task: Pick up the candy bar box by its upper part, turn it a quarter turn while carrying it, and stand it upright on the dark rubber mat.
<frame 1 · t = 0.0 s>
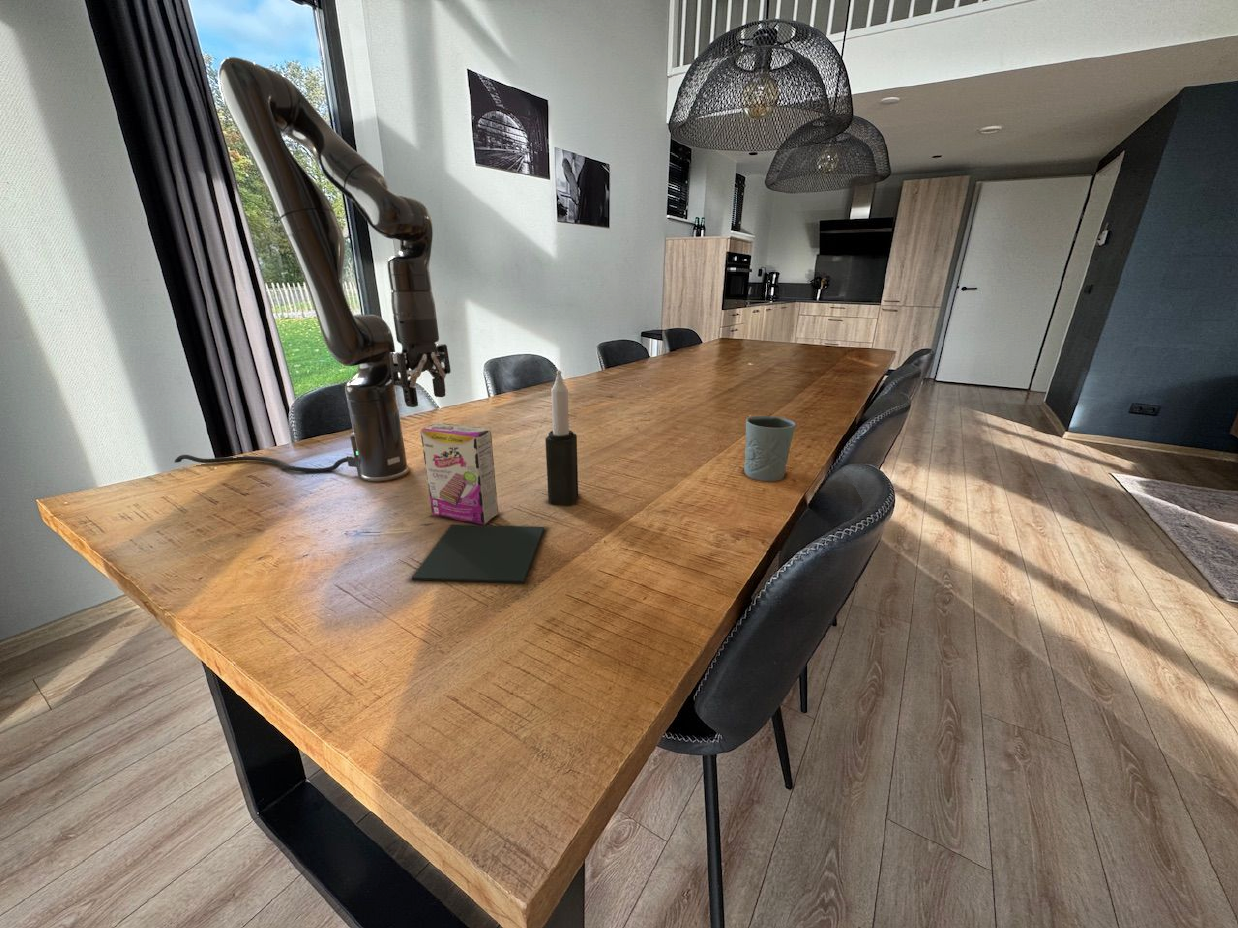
hand: (426, 401, 97), 17 cm above the table, tool pointing down, fingers open, 8 cm apart
mat: (484, 552, 77), on the table
grey green embossed cup: (764, 474, 109), on the table
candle: (563, 499, 95), on the table
candy bar box: (465, 516, 89), on the table
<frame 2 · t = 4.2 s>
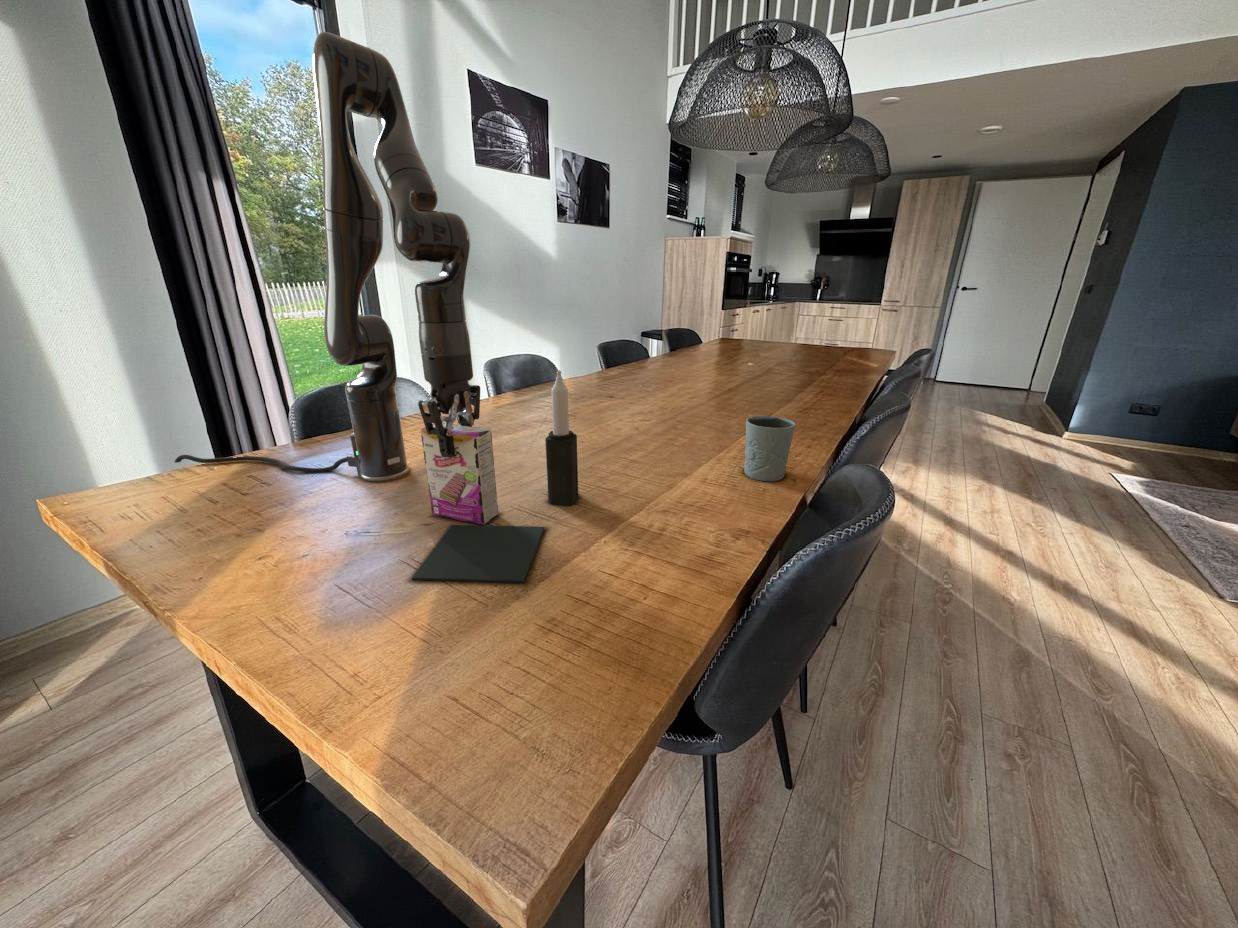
hand: (457, 450, 84), 12 cm above the table, tool pointing down, fingers closed on candy bar box, 5 cm apart
candy bar box: (465, 516, 89), on the table, touching gripper
everything else where it was.
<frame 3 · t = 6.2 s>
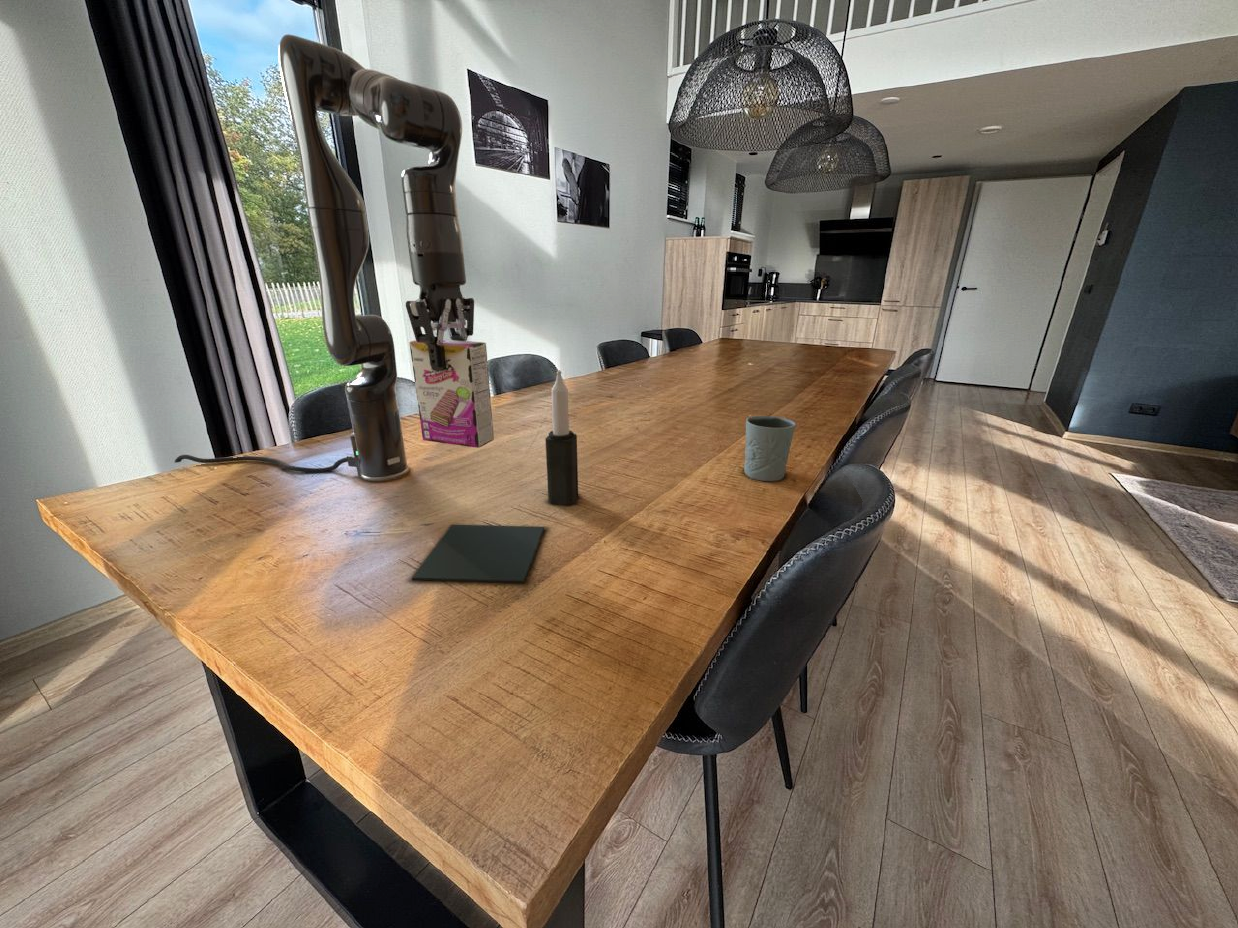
hand: (449, 366, 78), 27 cm above the table, tool pointing down, fingers closed on candy bar box, 5 cm apart
candy bar box: (458, 442, 82), point 14 cm above the table, touching gripper
everything else where it was.
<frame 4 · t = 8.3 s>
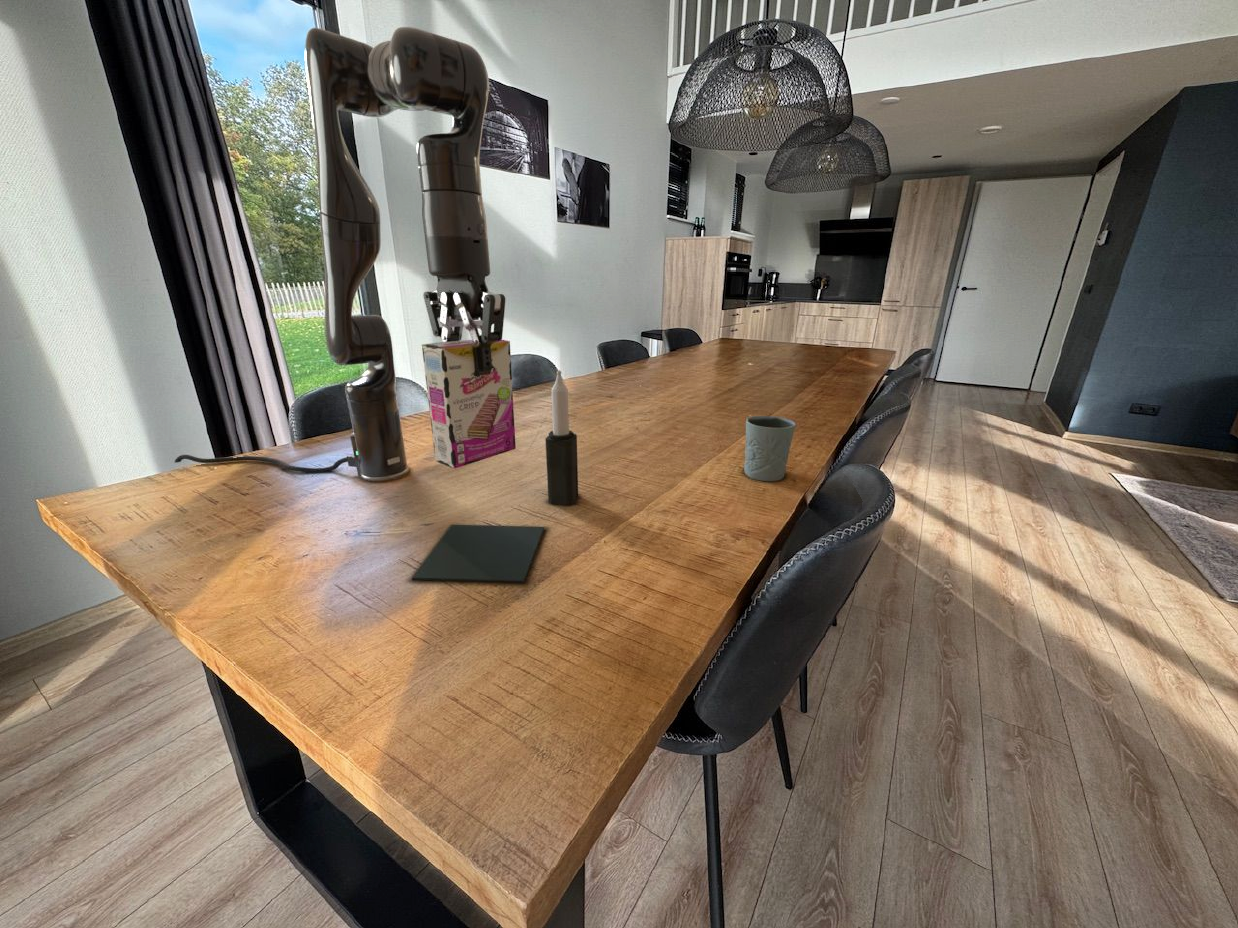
hand: (470, 371, 67), 28 cm above the table, tool pointing down, fingers closed on candy bar box, 5 cm apart
candy bar box: (478, 457, 72), point 16 cm above the table, touching gripper
everything else where it was.
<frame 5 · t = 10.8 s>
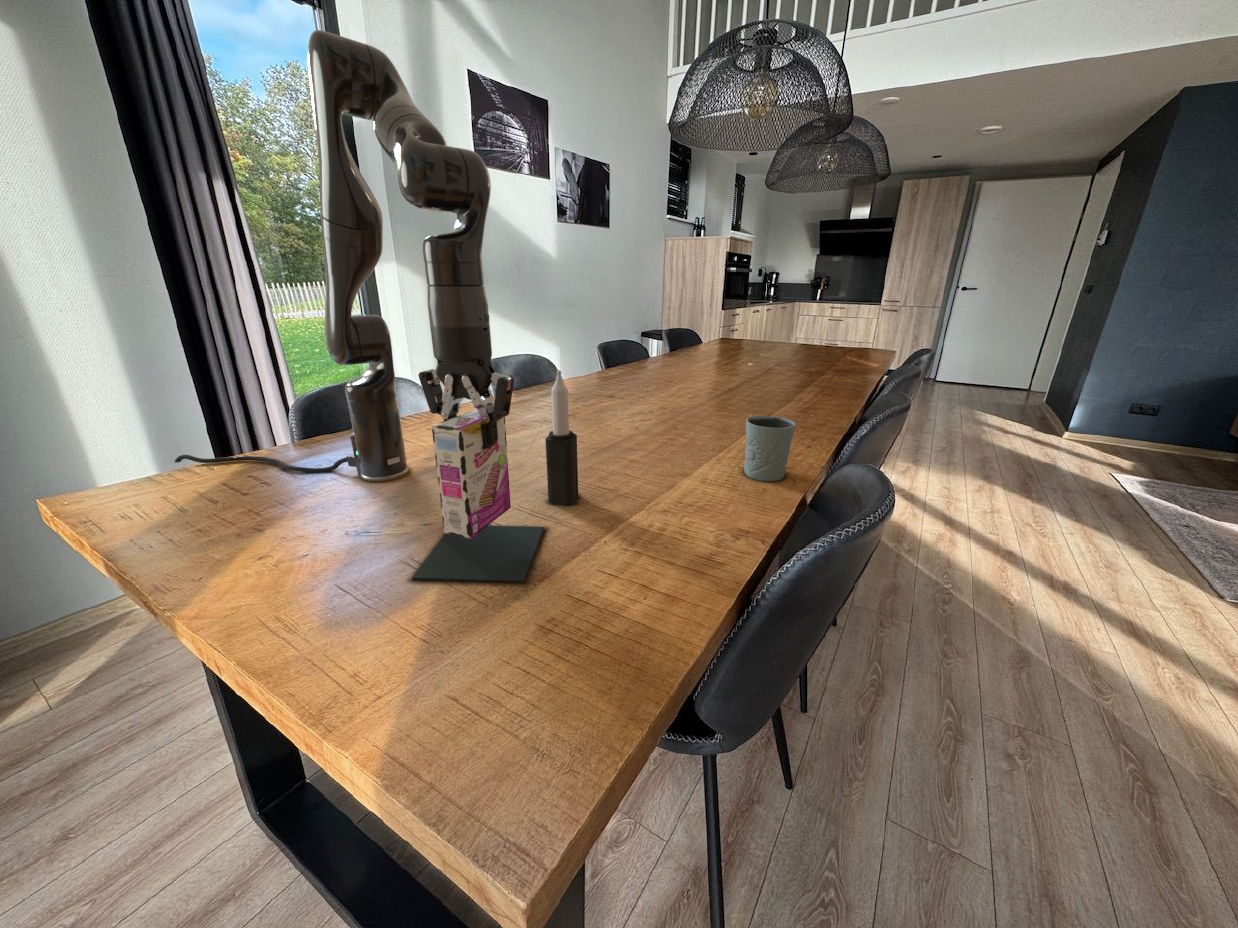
hand: (472, 444, 71), 18 cm above the table, tool pointing down, fingers closed on candy bar box, 5 cm apart
candy bar box: (480, 521, 75), point 5 cm above the table, touching gripper
everything else where it was.
when the fingers open (13 cm above the table, at t = 12.5 s): candy bar box stays where it is, resting on mat.
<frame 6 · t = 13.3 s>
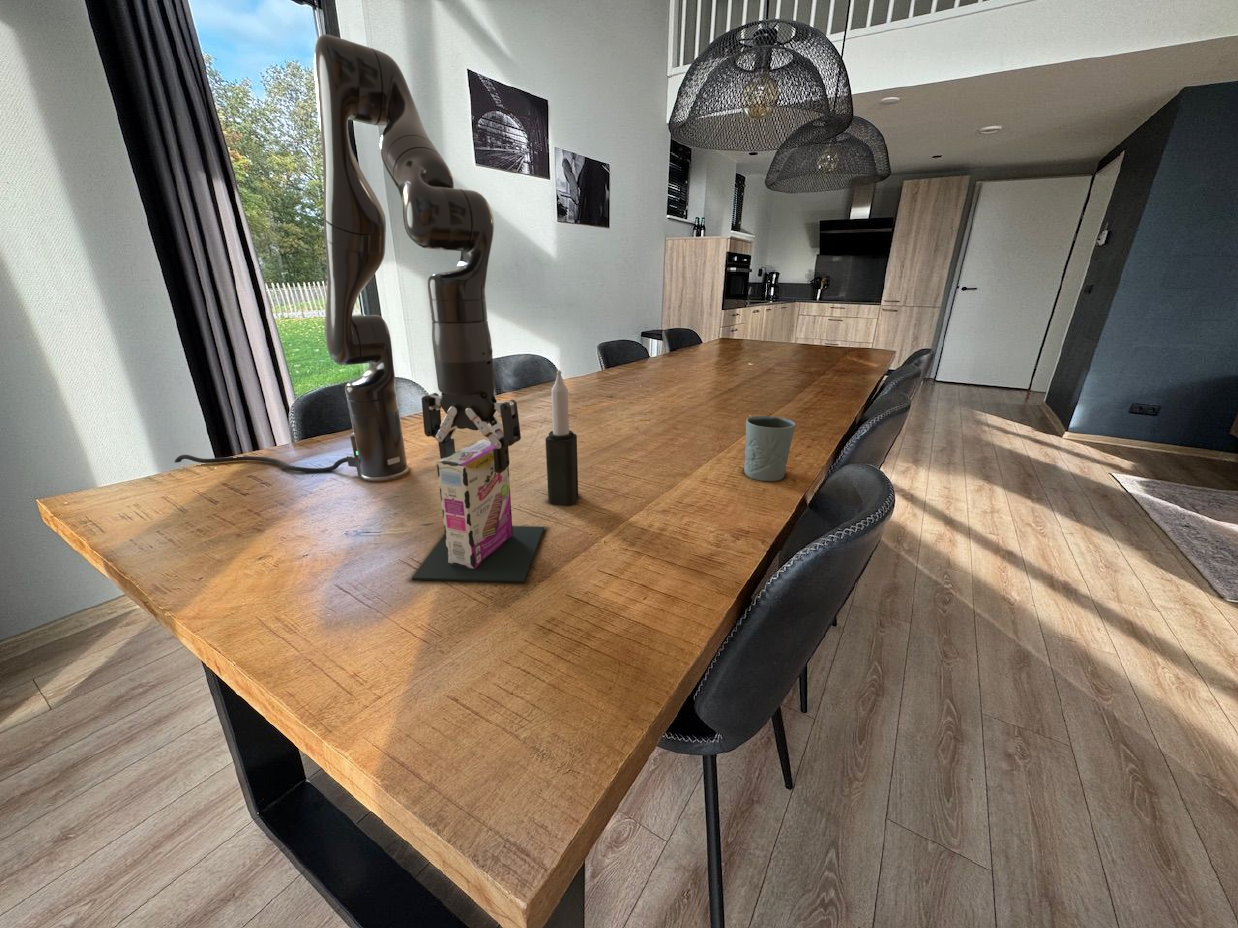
hand: (475, 467, 72), 14 cm above the table, tool pointing down, fingers open, 8 cm apart
candy bar box: (483, 550, 77), resting on mat
everything else where it was.
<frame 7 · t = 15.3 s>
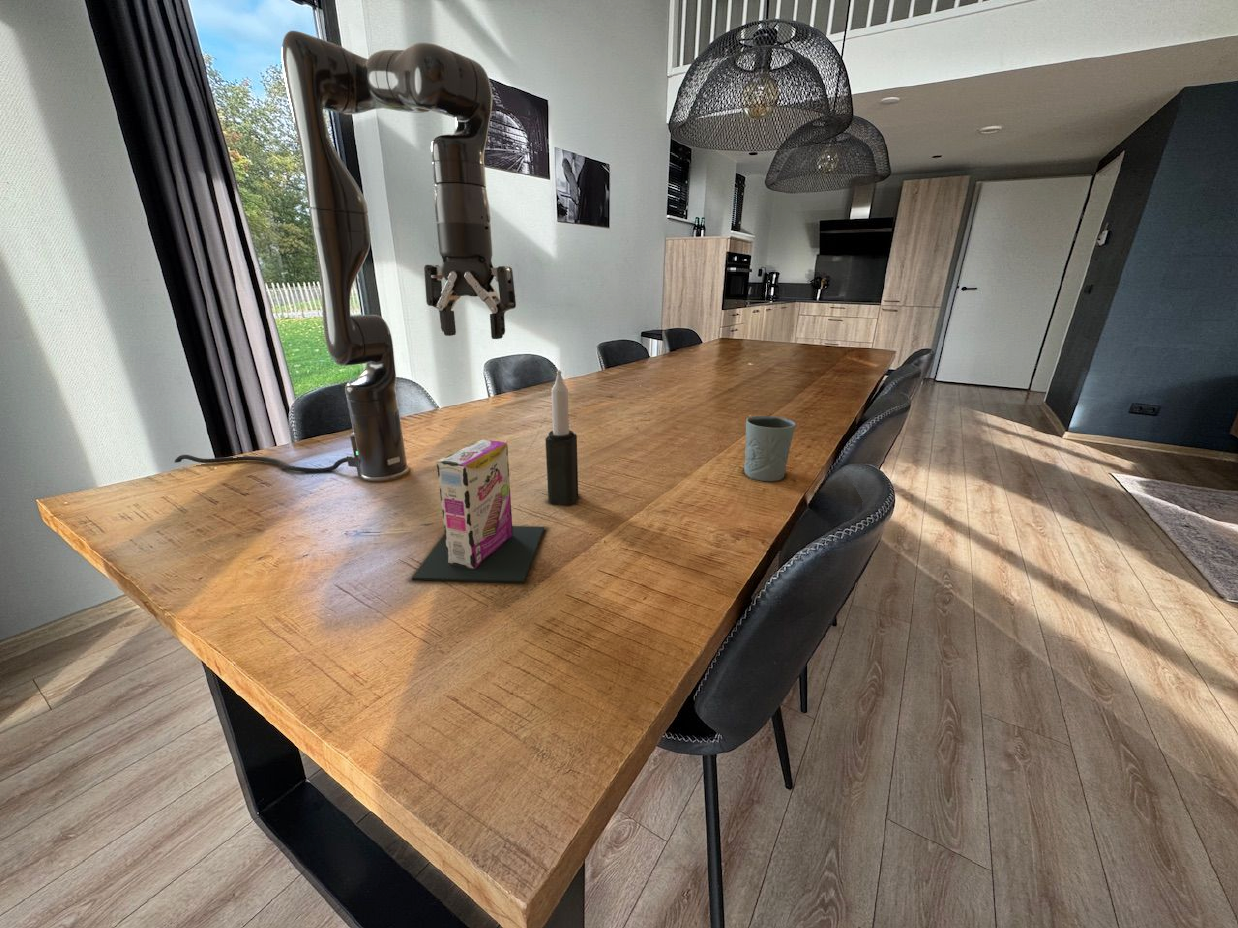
hand: (473, 337, 77), 32 cm above the table, tool pointing down, fingers open, 8 cm apart
nothing on the table moved.
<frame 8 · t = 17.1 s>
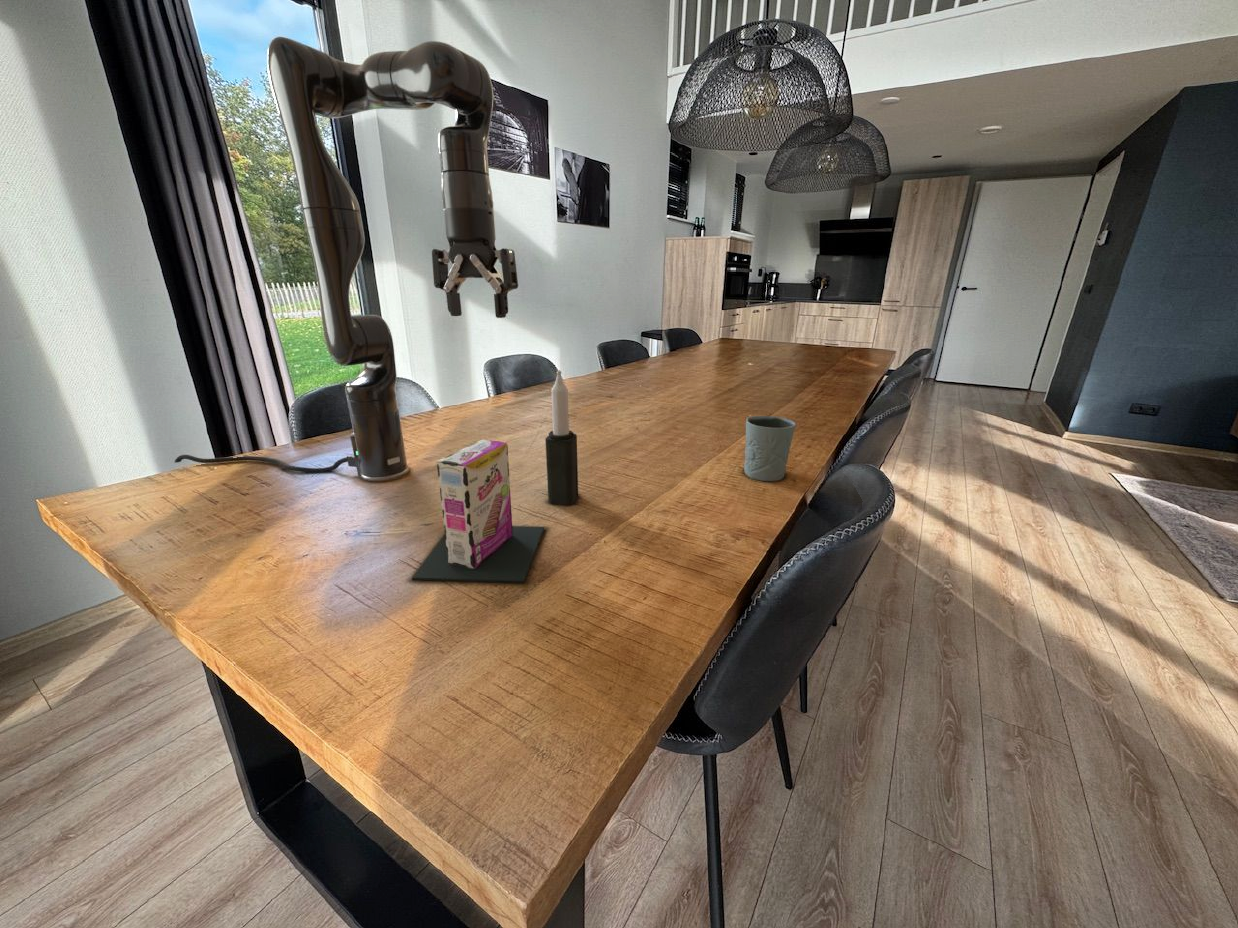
hand: (478, 316, 82), 34 cm above the table, tool pointing down, fingers open, 8 cm apart
nothing on the table moved.
at the end: candy bar box inside the target area on the mat (0.1 cm from its centre), point 0.2 cm above the mat's base; candy bar box tilted 0°; the gripper is holding nothing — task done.
